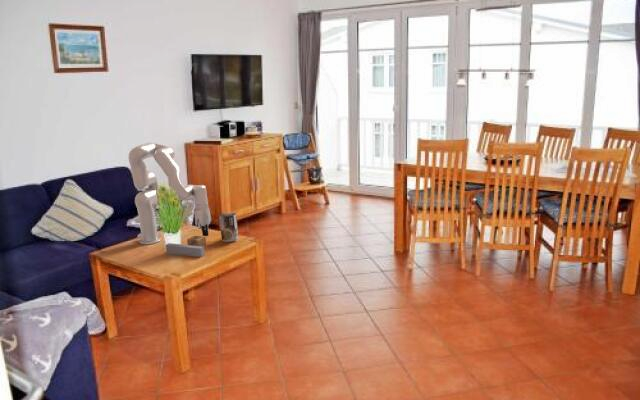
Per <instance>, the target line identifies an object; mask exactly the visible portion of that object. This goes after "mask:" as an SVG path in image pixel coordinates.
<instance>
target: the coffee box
mask: <svg viewBox="0 0 640 400" xmlns="http://www.w3.org/2000/svg"><path fill="white" fill-rule="evenodd" d="M218 219H219V226H220V235H221V242H222V243H223V242H227V243H228V242H237V241H238V240H239V238H240V237H239V230H238V229H239V228H238V220H237V219H238V218H237V213H236V212H229V213H227V212H226V213H221V214H220V215H219V216H218Z"/></svg>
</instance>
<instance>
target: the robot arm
mask: <svg viewBox="0 0 640 400" xmlns="http://www.w3.org/2000/svg"><path fill="white" fill-rule="evenodd" d="M149 158H153V159H154V161H155V162H156V163H157V165H158V166H159V167H160V169H161V170H162V171H163V173H164V174H165V175H166V177H167V182H168V185H169V187H170V189H171V188H174V189H175V191H176V193H177V195H178V198H177V199H178V200H180V201H187V200H189V199H191V198H194V207H195V209H194V220H195V221H194V222H195V226H196V227H197V228H198V230H199V229H200V230H201V233H202V236H203V237H208V236H209V225H210V224H211V222H212V216H211V211H210V208H209V199H208V194H207V193H208V192H207V187H206V185H205V184H199V185H196V184H187V185H183V184H182V183H181V181H180V177H179V175H180V166H179V165H178V164H177V162H176V161H175V160H174V158H175V151H174V149H173V148H171V147H170V146H166V145H163V144H159V143H154V142H147V143H144V144H140V145H137V146H135V147H133V148H132V149H130V152H129V153H128V162H129V166H130V170H131V177H132V180H133V184H134V187H135V189H137V190H139V191H140V192H138V193H137V194H136V196H135V197H134V204H135V207H136V208H137V214H138V221H139V228H140V233H138V235H137V238H140V240H139V244H141V245H153V244H158V243H159V242H161V241H162V238H161V237H160V236H159V234H158V228H157V227H158V226H157V220H156V213H155V209H154V207H153V204H155V203H157V202H158V201H157V195H156V190H157V189H158V187H159V183H158V177H157V176H156V174H155V173H154V172H153V171H150V170H147V166H146V163H145V161H144V160H146V159H149Z"/></svg>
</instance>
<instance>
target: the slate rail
mask: <svg viewBox="0 0 640 400" xmlns="http://www.w3.org/2000/svg"><path fill="white" fill-rule="evenodd" d="M165 250H166V251H165V252H166V254H170V255H180V256H190V257H198V258H199V257H200V258H203V257H204V256H205V247H201V246H191V245H188V244H180V243H170V242H169V243H166V244H165Z"/></svg>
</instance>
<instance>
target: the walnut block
mask: <svg viewBox="0 0 640 400" xmlns="http://www.w3.org/2000/svg"><path fill="white" fill-rule="evenodd" d="M206 237H207V236H203V235H193V236H191V237H188V238H187V239H186V243H187V244H186V245H191V246H201V247H204V248H206V247H207V238H206Z"/></svg>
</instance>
